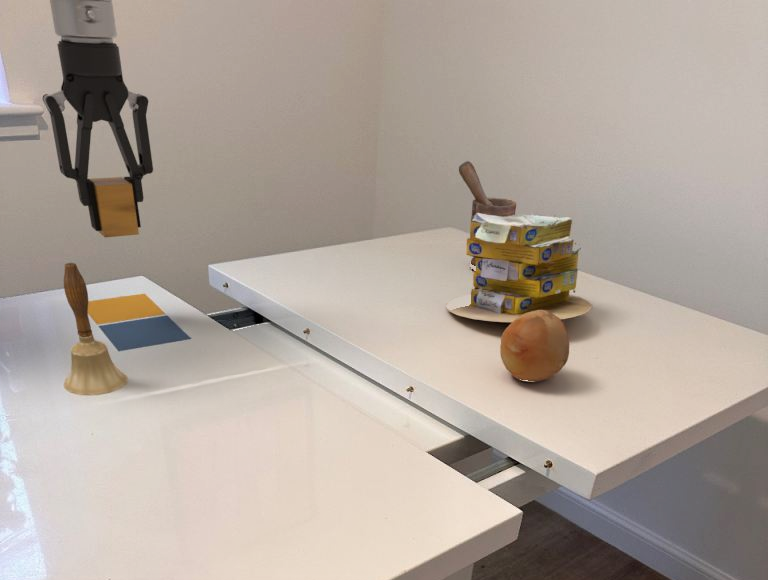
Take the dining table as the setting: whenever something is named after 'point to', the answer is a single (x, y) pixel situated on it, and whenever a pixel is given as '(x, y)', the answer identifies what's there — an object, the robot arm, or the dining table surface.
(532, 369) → the onion
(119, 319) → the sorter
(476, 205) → the mortar and pestle
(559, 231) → the stacked boxes on plate
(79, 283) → the hand bell
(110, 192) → the block
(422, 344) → the dining table surface
